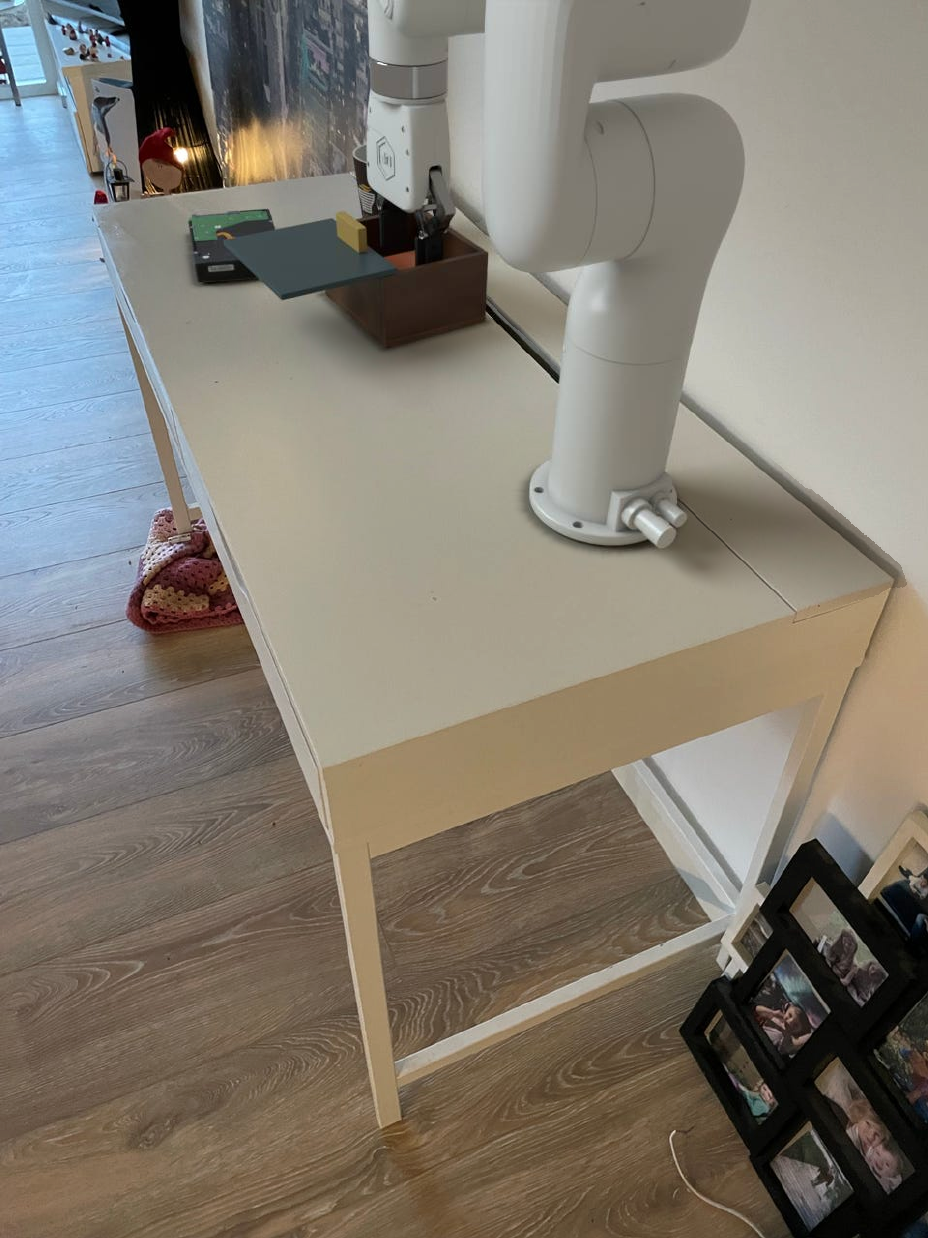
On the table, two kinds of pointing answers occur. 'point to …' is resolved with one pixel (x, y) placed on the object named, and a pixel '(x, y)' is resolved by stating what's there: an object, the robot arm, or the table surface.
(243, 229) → the disk drive
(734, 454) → the table surface
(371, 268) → the teal box lid
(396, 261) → the terracotta block
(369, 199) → the coffee mug
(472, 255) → the walnut box
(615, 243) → the robot arm
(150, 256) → the table surface
